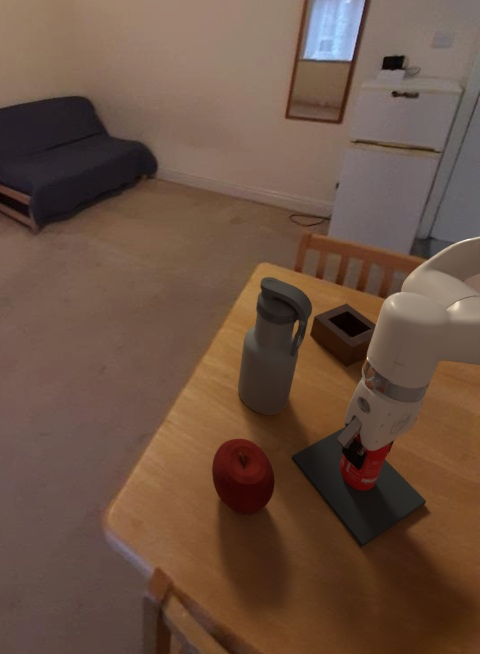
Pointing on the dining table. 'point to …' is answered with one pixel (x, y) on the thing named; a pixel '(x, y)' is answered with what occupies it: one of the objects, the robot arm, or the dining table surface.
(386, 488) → the mat
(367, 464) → the beverage can
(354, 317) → the holder
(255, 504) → the apple
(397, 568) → the dining table surface
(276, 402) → the water bottle
